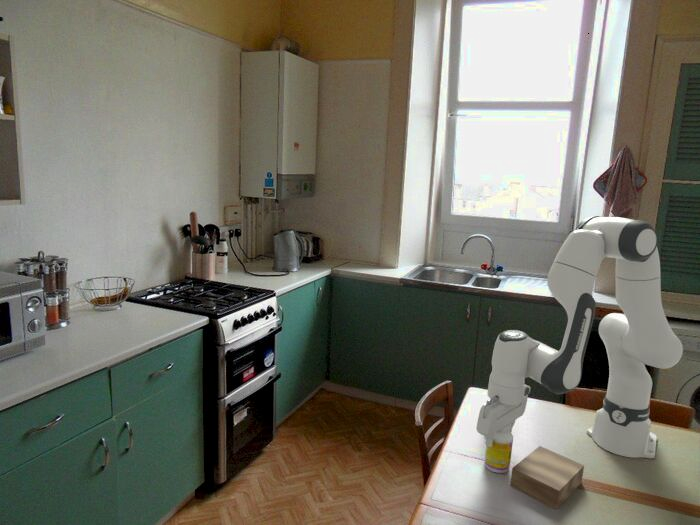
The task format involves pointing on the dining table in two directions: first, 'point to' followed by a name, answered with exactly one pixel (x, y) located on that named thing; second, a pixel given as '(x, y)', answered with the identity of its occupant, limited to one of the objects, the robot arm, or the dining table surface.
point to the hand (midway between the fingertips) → (498, 439)
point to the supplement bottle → (500, 451)
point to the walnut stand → (547, 476)
